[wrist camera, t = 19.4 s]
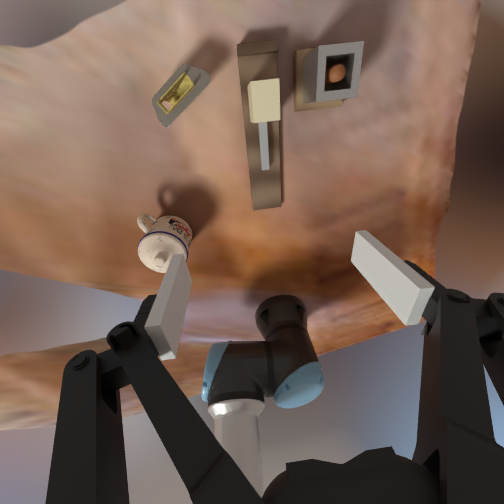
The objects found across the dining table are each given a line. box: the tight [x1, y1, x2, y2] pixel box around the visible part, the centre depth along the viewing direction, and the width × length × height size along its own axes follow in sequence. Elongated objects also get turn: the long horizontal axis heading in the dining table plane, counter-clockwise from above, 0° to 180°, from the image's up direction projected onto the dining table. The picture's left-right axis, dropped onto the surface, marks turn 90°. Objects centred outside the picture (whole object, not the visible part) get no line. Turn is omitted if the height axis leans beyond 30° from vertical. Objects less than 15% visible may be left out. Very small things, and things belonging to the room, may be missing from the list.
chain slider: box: [247, 78, 280, 170], centre depth 37 cm, size 13×4×6 cm, turn 6°
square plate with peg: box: [294, 48, 345, 112], centre depth 34 cm, size 8×8×8 cm
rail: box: [237, 40, 281, 210], centre depth 40 cm, size 26×6×2 cm, turn 6°
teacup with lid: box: [137, 213, 192, 273], centre depth 44 cm, size 12×9×12 cm
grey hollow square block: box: [302, 41, 364, 104], centre depth 33 cm, size 6×6×7 cm
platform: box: [152, 64, 211, 127], centre depth 34 cm, size 12×18×7 cm, turn 128°
